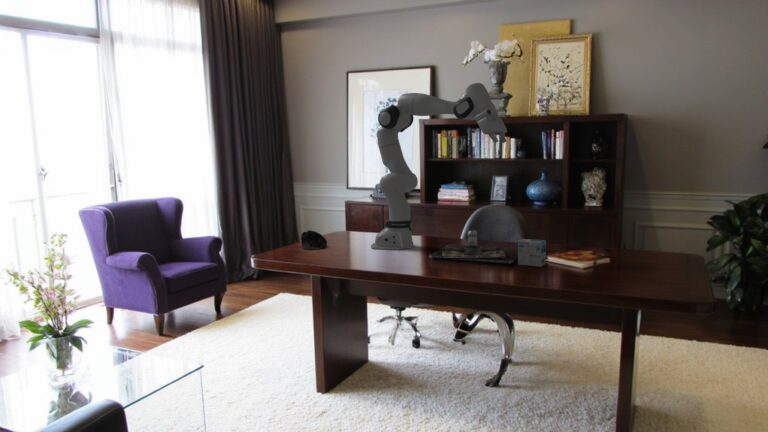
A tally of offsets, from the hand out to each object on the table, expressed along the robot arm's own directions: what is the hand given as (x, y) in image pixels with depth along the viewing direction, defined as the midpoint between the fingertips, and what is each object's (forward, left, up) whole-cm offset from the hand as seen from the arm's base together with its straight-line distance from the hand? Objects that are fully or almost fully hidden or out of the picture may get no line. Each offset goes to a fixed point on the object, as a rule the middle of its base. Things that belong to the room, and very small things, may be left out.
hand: (500, 142), depth 252 cm
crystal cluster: (-95, +24, -54) cm, 112 cm away
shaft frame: (-12, +2, -53) cm, 55 cm away
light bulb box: (+13, -14, -54) cm, 57 cm away
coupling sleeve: (-12, +15, -53) cm, 57 cm away
